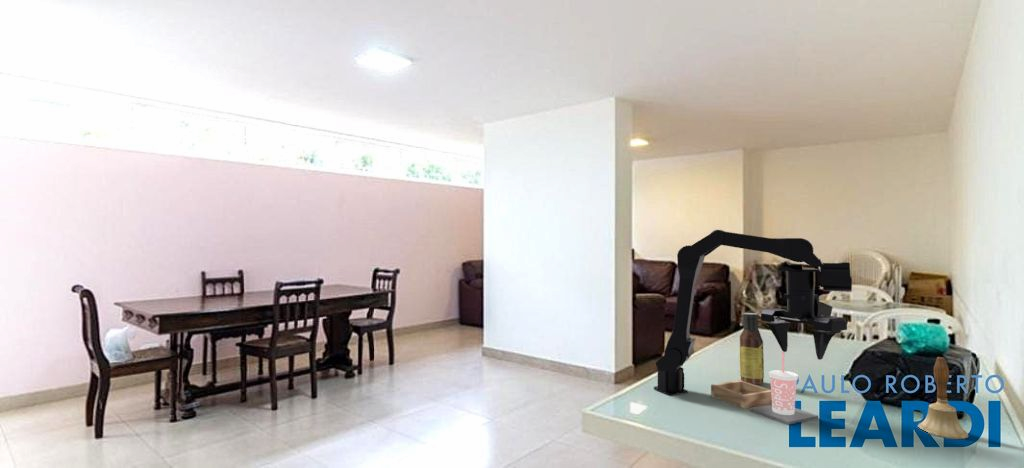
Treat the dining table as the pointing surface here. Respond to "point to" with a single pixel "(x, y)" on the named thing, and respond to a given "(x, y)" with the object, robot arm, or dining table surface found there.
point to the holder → (733, 395)
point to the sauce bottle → (751, 351)
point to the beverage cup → (783, 390)
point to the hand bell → (942, 408)
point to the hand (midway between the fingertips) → (801, 355)
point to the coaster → (787, 419)
